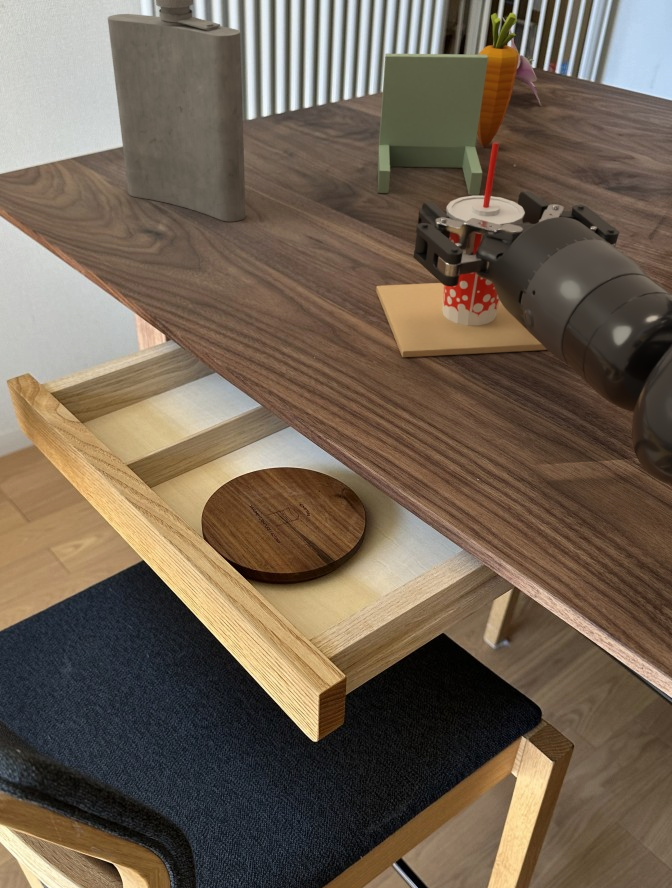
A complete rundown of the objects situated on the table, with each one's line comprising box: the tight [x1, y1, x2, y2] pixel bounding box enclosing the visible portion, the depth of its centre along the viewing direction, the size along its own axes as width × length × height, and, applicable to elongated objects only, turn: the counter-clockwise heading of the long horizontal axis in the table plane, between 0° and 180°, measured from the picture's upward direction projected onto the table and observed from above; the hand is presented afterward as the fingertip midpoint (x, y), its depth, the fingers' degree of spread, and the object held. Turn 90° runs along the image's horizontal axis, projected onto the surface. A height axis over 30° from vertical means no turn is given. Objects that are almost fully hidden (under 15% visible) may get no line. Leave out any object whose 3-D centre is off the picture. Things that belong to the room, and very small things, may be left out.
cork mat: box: [375, 282, 548, 358], centre depth 74 cm, size 14×12×1 cm
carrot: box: [477, 12, 520, 148], centre depth 103 cm, size 5×5×15 cm
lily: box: [501, 16, 542, 106], centre depth 122 cm, size 12×12×10 cm
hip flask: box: [107, 0, 247, 223], centre depth 88 cm, size 16×4×20 cm, turn 55°
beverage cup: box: [442, 141, 525, 326], centre depth 69 cm, size 6×6×14 cm
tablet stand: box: [377, 53, 488, 196], centre depth 96 cm, size 11×10×12 cm
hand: (473, 208), depth 69 cm, fingers open, 8 cm apart
